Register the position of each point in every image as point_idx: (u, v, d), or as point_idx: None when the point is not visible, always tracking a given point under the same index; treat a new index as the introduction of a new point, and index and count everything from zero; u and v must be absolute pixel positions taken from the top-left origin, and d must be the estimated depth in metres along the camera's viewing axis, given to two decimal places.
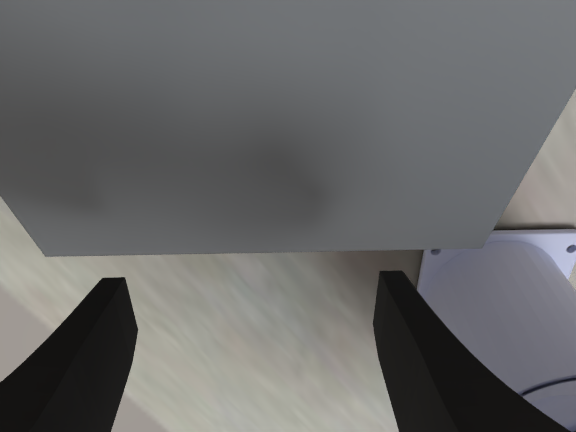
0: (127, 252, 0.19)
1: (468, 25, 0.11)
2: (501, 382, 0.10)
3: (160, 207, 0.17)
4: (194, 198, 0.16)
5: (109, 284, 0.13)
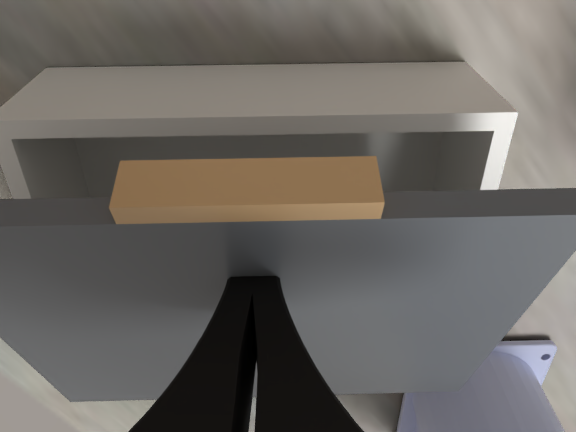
0: (143, 398, 0.21)
1: (433, 280, 0.14)
2: (324, 387, 0.10)
3: (175, 374, 0.19)
4: None
5: (242, 281, 0.13)
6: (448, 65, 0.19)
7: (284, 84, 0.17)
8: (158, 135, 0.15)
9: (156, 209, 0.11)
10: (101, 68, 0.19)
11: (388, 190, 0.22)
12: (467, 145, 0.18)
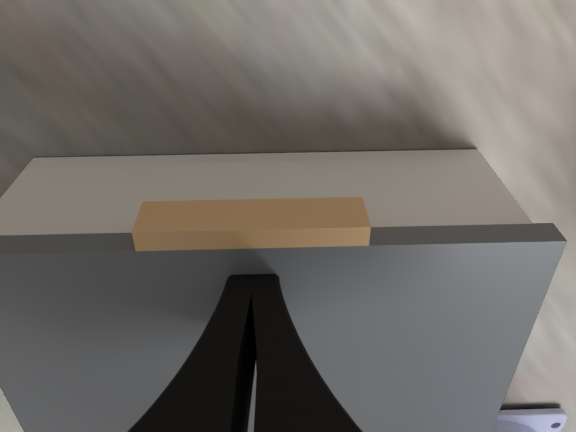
0: None
1: (424, 321, 0.15)
2: (323, 387, 0.10)
3: None
4: None
5: (241, 280, 0.13)
6: (459, 155, 0.18)
7: (286, 184, 0.16)
8: None
9: (172, 234, 0.13)
10: (92, 159, 0.18)
11: None
12: None
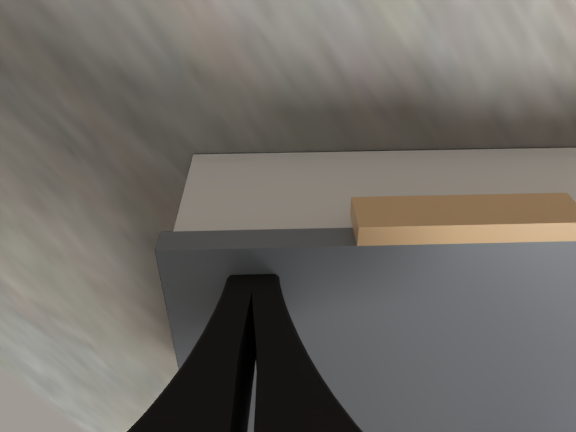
0: None
1: None
2: (323, 387, 0.10)
3: None
4: None
5: (241, 280, 0.13)
6: None
7: (460, 181, 0.17)
8: None
9: (397, 229, 0.13)
10: (252, 156, 0.18)
11: None
12: None
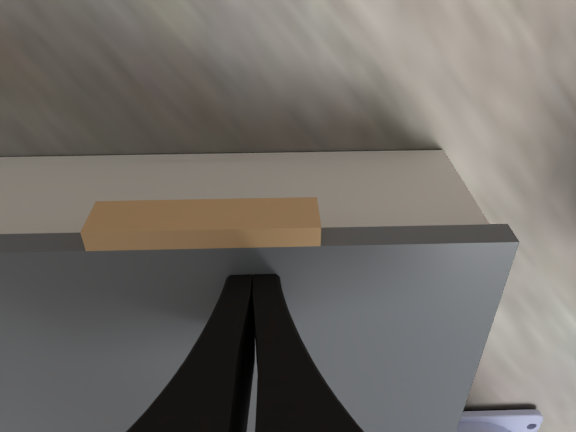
0: None
1: (381, 322, 0.15)
2: (324, 387, 0.10)
3: None
4: None
5: (240, 280, 0.13)
6: (424, 156, 0.18)
7: (247, 185, 0.16)
8: None
9: (122, 234, 0.13)
10: (55, 159, 0.18)
11: None
12: None
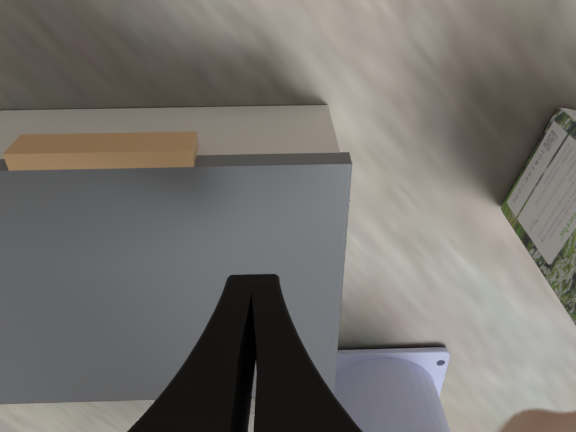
0: (48, 400, 0.23)
1: (255, 235, 0.18)
2: (323, 387, 0.10)
3: (71, 361, 0.22)
4: (96, 353, 0.22)
5: (241, 280, 0.13)
6: (309, 109, 0.21)
7: (155, 130, 0.20)
8: None
9: (35, 156, 0.16)
10: (1, 112, 0.21)
11: None
12: None
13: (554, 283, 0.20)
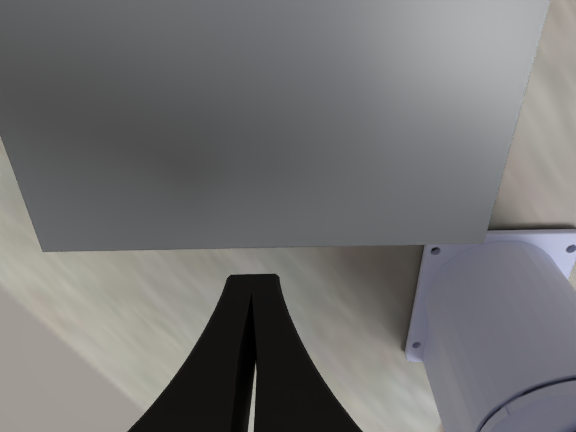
0: (125, 246, 0.19)
1: None
2: (323, 387, 0.10)
3: (163, 181, 0.17)
4: (197, 169, 0.17)
5: (241, 281, 0.13)
6: None
7: None
8: None
9: None
10: None
11: None
12: None
13: None
